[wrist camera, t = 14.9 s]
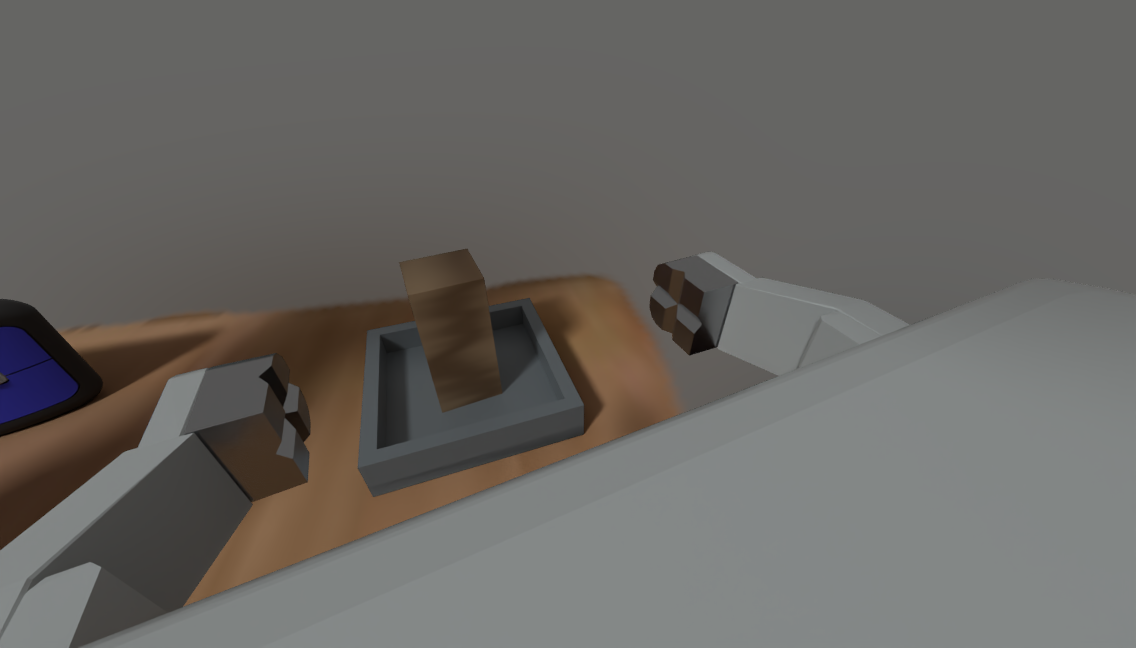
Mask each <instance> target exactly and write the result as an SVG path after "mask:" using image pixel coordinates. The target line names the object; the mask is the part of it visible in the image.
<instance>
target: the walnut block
mask: <svg viewBox="0 0 1136 648" xmlns="http://www.w3.org/2000/svg"><path fill="white" fill-rule="evenodd" d="M400 267H401V271H402V275H403V278H404V282H405V287H406V290H407V294H408V298H409V301H410V305H411V308H412V312H413V315H414V318H415V322H416V325H417V329H418V332H419V335H420V339H421V342H422V346H423V349H424V352H425V356H426V359H427V363H428V366H429V369H430V373H431V376H432V380H433V383H434V386H435V390H436V393H437V397H438V400H439V403H440V407H441V410H442V413H444V412H447V411H450V410H453V409H456V408H459V407H462V406H465V405H468V404H472V403H475V402H478V401H481V400H484V399H487V398H490V397H493V396H496V395H499V394H503V393H502V387H501V381H500V375H499V368H498V362H497V356H496V350H495V344H494V337H493V331H492V325H491V319H490V312H489V306H488V300H487V294H486V287H485V281H484V277H483V276H482V274H481V272H480V270H479V269H478V267H477V265H476V263H475V262H474V260H473V258H472V256H471V255H470V253H469V252H468V249H463V250H458V251H453V252H448V253H443V254H439V255H434V256H429V257H423V258H419V259H413V260H408V261H403V262H400Z"/></svg>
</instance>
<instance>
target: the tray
mask: <svg viewBox="0 0 1136 648" xmlns="http://www.w3.org/2000/svg"><path fill="white" fill-rule="evenodd" d="M489 312H490V319H491V325H492V331H493V337H494V344H495V350H496V356H497V362H498V368H499V375H500V381H501V387H502V393H503V394H499V395H496V396H493V397H490V398H487V399H484V400H481V401H478V402H475V403H472V404H468V405H465V406H462V407H459V408H456V409H453V410H450V411H447V412H444V413H442V410H441V407H440V403H439V400H438V397H437V393H436V390H435V386H434V383H433V380H432V376H431V373H430V369H429V366H428V363H427V359H426V356H425V352H424V349H423V346H422V342H421V339H420V335H419V332H418V329H417V325H416V322H415V321H412V322H407V323H402V324H397V325H392V326H387V327H382V328H377V329H372V330H367V343H366V357H365V372H364V386H363V401H362V415H361V429H360V444H359V458H358V469H359V471H360V473H361V475H362V477H363V479H364V481H365V482H366V484H367V486H368V488H369V490H370V492H371V494H372V496H373V497H375V496H378V495H382V494H385V493H388V492H392V491H395V490H398V489H402V488H405V487H408V486H412V485H415V484H419V483H422V482H425V481H429V480H432V479H435V478H439V477H442V476H445V475H449V474H452V473H455V472H459V471H462V470H466V469H469V468H472V467H476V466H479V465H482V464H486V463H489V462H492V461H496V460H499V459H503V458H506V457H509V456H513V455H516V454H519V453H523V452H526V451H529V450H533V449H536V448H539V447H543V446H546V445H550V444H553V443H556V442H560V441H563V440H566V439H570V438H573V437H576V436H580V435H583V434H584V404H583V402H582V400H581V398H580V396H579V394H578V392H577V390H576V388H575V386H574V385H573V383H572V381H571V379H570V377H569V375H568V373H567V371H566V369H565V367H564V365H563V363H562V361H561V359H560V357H559V355H558V353H557V351H556V349H555V347H554V345H553V343H552V341H551V339H550V337H549V335H548V333H547V331H546V329H545V328H544V326H543V324H542V322H541V320H540V318H539V316H538V314H537V312H536V310H535V308H534V306H533V304H532V302H531V300H530V298H527V299H522V300H517V301H512V302H507V303H502V304H497V305H492V306H489Z"/></svg>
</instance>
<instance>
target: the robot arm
mask: <svg viewBox="0 0 1136 648" xmlns="http://www.w3.org/2000/svg"><path fill="white" fill-rule="evenodd" d="M653 281H654V282H655V284H656V286H657V287H656V289H655V290H654V291H653V293H652V295H651V298H650V311H651V315H652V318H653V320H654V321H655V323H656V324H657V325H658V326H659V327H660V328H661V329H662V330H665V331H667V332H670V333H672V337H673V338H672V339H673V341H674V342H675V343H676V344H677V345H679V346H680V347H681V348H682V349H683V350H684V351H685V352H686V353H687V354H688V355H693V354H696V353H699V352H703V351H706V350H709V349H713V348H716V347H718V348H717V349H719V350H721V351H724V352H726V353H728V354H731V355H733V356H735V357H737V358H739V359H742V360H744V361H746V362H748V363H750V364H753V365H755V366H757V367H759V368H762V369H764V370H766V371H768V372H771V373H773V374H775V375H777V377H775V378H772V379H770V380H767V381H765V382H762V383H760V384H757V385H754V386H752V387H749V388H746V389H744V390H741V391H739V392H736V393H733V394H731V395H729V396H726V397H723V398H721V399H718V400H715V401H713V402H710V403H708V404H705V405H703V406H700V407H698V408H695V409H692V410H689V411H687V412H684V413H682V414H679V415H677V416H674V417H671V418H669V419H666V420H664V421H661V422H658V423H656V424H653V425H651V426H648V427H646V428H643V429H640V430H638V431H635V432H633V433H630V434H628V435H625V436H622V437H620V438H617V439H615V440H612V441H610V442H607V443H604V444H602V445H599V446H597V447H594V448H591V449H589V450H586V451H584V452H581V453H579V454H576V455H573V456H571V457H568V458H566V459H563V460H561V461H558V462H555V463H553V464H550V465H548V466H545V467H542V468H540V469H537V470H535V471H532V472H530V473H527V474H524V475H522V476H519V477H517V478H514V479H512V480H509V481H506V482H504V483H501V484H499V485H496V486H493V487H491V488H488V489H486V490H483V491H481V492H478V493H475V494H473V495H470V496H468V497H465V498H463V499H460V500H457V501H455V502H452V503H450V504H447V505H445V506H442V507H439V508H437V509H434V510H432V511H429V512H426V513H424V514H421V515H419V516H416V517H414V518H411V519H408V520H406V521H403V522H401V523H398V524H396V525H393V526H390V527H388V528H385V529H383V530H380V531H377V532H375V533H372V534H370V535H367V536H365V537H362V538H359V539H357V540H354V541H352V542H349V543H347V544H344V545H341V546H339V547H336V548H334V549H331V550H328V551H326V552H323V553H321V554H318V555H316V556H313V557H310V558H308V559H305V560H303V561H300V562H298V563H295V564H292V565H290V566H287V567H285V568H282V569H279V570H277V571H274V572H272V573H269V574H267V575H264V576H261V577H259V578H256V579H254V580H251V581H249V582H246V583H243V584H241V585H238V586H236V587H233V588H230V589H228V590H225V591H223V592H220V593H218V594H215V595H212V596H210V597H207V598H205V599H202V600H200V601H197V602H194V603H192V604H189V605H187V606H184V604H185V603H186V601H187V600H188V598H189V597H190V596H191V594H192V593H193V591H194V590H195V588H196V587H197V585H198V584H199V582H200V581H201V579H202V578H203V577H204V575H205V574H206V572H207V571H208V569H209V568H210V566H211V565H212V563H213V562H214V561H215V559H216V558H217V556H218V555H219V553H220V552H221V550H222V549H223V547H224V546H225V544H226V543H227V542H228V540H229V539H230V537H231V536H232V534H233V533H234V531H235V530H236V528H237V527H238V525H239V524H240V523H241V521H242V520H243V518H244V517H245V515H246V514H247V512H248V511H249V509H250V508H251V507H252V505H253V504H252V503H251V502H254V501H257V500H259V499H262V498H265V497H268V496H271V495H273V494H276V493H279V492H282V491H285V490H287V489H290V488H293V487H296V486H299V485H301V484H304V483H307V482H308V468H309V451H308V450H307V448H306V446H305V444H304V443H303V442H304V441H305V440H306V439H307V438H308V436H309V435H310V417H309V411H308V407H307V404H306V401H305V398H304V396H303V394H302V392H301V390H300V388H299V387H297V386H295V385H292V384H290V383H289V373H290V369H289V368H288V366H287V364H286V363H285V361H284V359H283V357H282V356H280V355H279V354H277V353H275V354H270V355H265V356H261V357H256V358H251V359H247V360H242V361H237V362H233V363H228V364H223V365H219V366H214V367H211V368H204V369H200V370H196V371H192V372H188V373H183V374H179V375H176V376H174V377H172V378H170V379H169V380H168V381H167V384H166V386H165V388H164V390H163V392H162V395H161V397H160V399H159V401H158V404H157V406H156V408H155V410H154V412H153V415H152V417H151V419H150V421H149V423H148V426H147V428H146V430H145V432H144V435H143V437H142V439H141V441H140V443H139V446H138V448H135V449H132V450H128V451H125V452H124V453H122V454H121V455H120V456H119V457H117V458H116V459H115V460H113V461H112V462H111V463H110V464H108V465H107V466H106V467H105V468H103V469H102V470H101V471H100V472H98V473H97V474H96V475H95V476H93V477H92V478H91V479H90V480H88V481H87V482H86V483H85V484H83V485H82V486H81V487H80V488H78V489H77V490H76V491H75V492H73V493H72V494H71V495H69V496H68V497H67V498H66V499H64V500H63V501H62V502H61V503H59V504H58V505H57V506H56V507H54V508H53V509H52V510H51V511H49V512H48V513H47V514H46V515H44V516H43V517H42V518H41V519H39V520H38V521H37V522H36V523H34V524H33V525H32V526H30V527H29V528H28V529H27V530H25V531H24V532H23V533H22V534H20V535H19V536H18V537H17V538H15V539H14V540H13V541H12V542H10V543H9V544H8V545H7V546H5V547H4V548H3V549H2V550H0V648H1136V295H1135V294H1131V293H1126V292H1123V291H1117V290H1113V289H1107V288H1103V287H1097V286H1091V285H1086V284H1080V283H1073V282H1067V281H1061V280H1055V279H1044V278H1039V279H1030V280H1026V281H1023V282H1019V283H1016V284H1014V285H1011V286H1009V287H1007V288H1004V289H1002V290H999V291H997V292H994V293H992V294H989V295H986V296H984V297H981V298H978V299H976V300H973V301H971V302H968V303H966V304H963V305H960V306H958V307H955V308H953V309H950V310H948V311H945V312H942V313H940V314H937V315H935V316H932V317H929V318H927V319H925V320H922V321H919V322H917V323H914V324H911V325H910V324H908V323H906V322H904V321H902V320H901V319H899V318H897V317H895V316H893V315H891V314H889V313H888V312H886V311H884V310H882V309H880V308H878V307H876V306H875V305H873V304H871V303H869V302H867V301H865V300H862V299H857V298H853V297H848V296H844V295H839V294H835V293H830V292H826V291H821V290H817V289H812V288H808V287H803V286H799V285H794V284H790V283H785V282H781V281H776V280H772V279H767V278H763V277H761V278H756V277H754V276H752V275H751V274H749V273H747V272H746V271H744V270H743V269H741V268H739V267H738V266H736V265H734V264H733V263H731V262H729V261H728V260H726V259H725V258H723V257H721V256H720V255H718V254H716V253H715V252H704V253H700V254H697V255H693V256H691V257H687V258H683V259H679V260H675V261H671V262H667V263H664V264H660V265H658V266H657V267H656V270H655V271H654V277H653ZM183 606H184V607H183Z"/></svg>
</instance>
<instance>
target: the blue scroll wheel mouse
mask: <svg viewBox="0 0 1136 648" xmlns="http://www.w3.org/2000/svg"><path fill="white" fill-rule="evenodd" d="M102 386H103V382H102V379H101V377H100V376H99V375H98V374H97V373H96V372H95V371H94V370H93V369H92V368H91V367H90V366H89V364H88V363H87V362H86V361H85V360H84V359H83V358H82V357H81V356H80V355H79V354H78V353H77V352H76V351H75V350H74V349H73V348H72V347H71V345H70V344H69V343H68V342H67V341H66V340H65V339H64V338H63V337H62V336H61V335H60V334H59V333H58V332H57V331H56V330H55V329H54V327H53V326H52V325H50V323H49V322H48V321H47V320H46V319H45V318H44V317H43V316H42V315H41V314H40V313H39V312H38V311H37V310H36V309H35V308H34V307H32V306H31V305H28V304H26V303H22V302H19V301H14V300H7V299H0V435H3V434H7V433H10V432H13V431H16V430H19V429H22V428H25V427H28V426H31V425H34V424H37V423H40V422H43V421H45V420H48V419H50V418H53V417H56V416H58V415H61V414H63V413H66V412H68V411H70V410H73V409H75V408H77V407H79V406H81V405H83V404H85V403H87V402H88V401H90V400H91V399H92V398H94V397H95V396H96V395H97V394H98V393H99V392H100V390H101V389H102Z"/></svg>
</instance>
